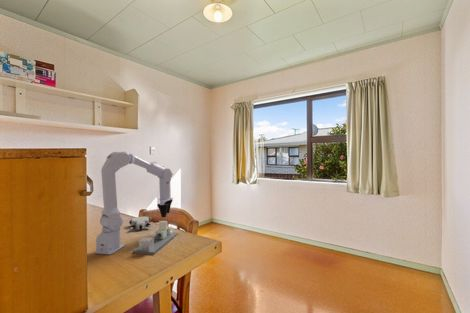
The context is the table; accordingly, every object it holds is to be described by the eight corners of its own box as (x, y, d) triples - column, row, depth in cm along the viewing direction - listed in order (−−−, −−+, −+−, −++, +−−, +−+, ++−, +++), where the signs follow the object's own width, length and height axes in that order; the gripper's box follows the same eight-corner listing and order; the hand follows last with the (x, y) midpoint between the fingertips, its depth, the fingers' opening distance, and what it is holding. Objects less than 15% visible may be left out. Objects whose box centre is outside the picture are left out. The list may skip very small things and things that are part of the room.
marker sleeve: (163, 239, 109) (162, 224, 109) (155, 238, 109) (155, 223, 109) (167, 235, 113) (167, 221, 113) (160, 235, 114) (160, 220, 114)
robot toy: (152, 231, 127) (150, 221, 140) (152, 223, 126) (150, 214, 140) (128, 234, 122) (129, 224, 135) (128, 226, 121) (129, 217, 135)
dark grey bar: (147, 246, 98) (147, 243, 98) (144, 246, 98) (144, 243, 98) (168, 230, 117) (168, 228, 117) (166, 230, 117) (166, 228, 117)
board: (154, 254, 95) (154, 243, 95) (132, 252, 97) (132, 242, 97) (177, 234, 118) (177, 225, 118) (160, 233, 120) (160, 224, 120)
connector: (149, 251, 96) (149, 241, 96) (138, 250, 97) (138, 240, 97) (155, 246, 101) (155, 236, 101) (145, 245, 102) (145, 236, 102)
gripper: (169, 192, 115) (170, 218, 115) (175, 187, 129) (175, 211, 129) (155, 192, 114) (156, 219, 114) (162, 188, 129) (163, 211, 129)
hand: (165, 215), depth 122 cm, fingers open, 7 cm apart
